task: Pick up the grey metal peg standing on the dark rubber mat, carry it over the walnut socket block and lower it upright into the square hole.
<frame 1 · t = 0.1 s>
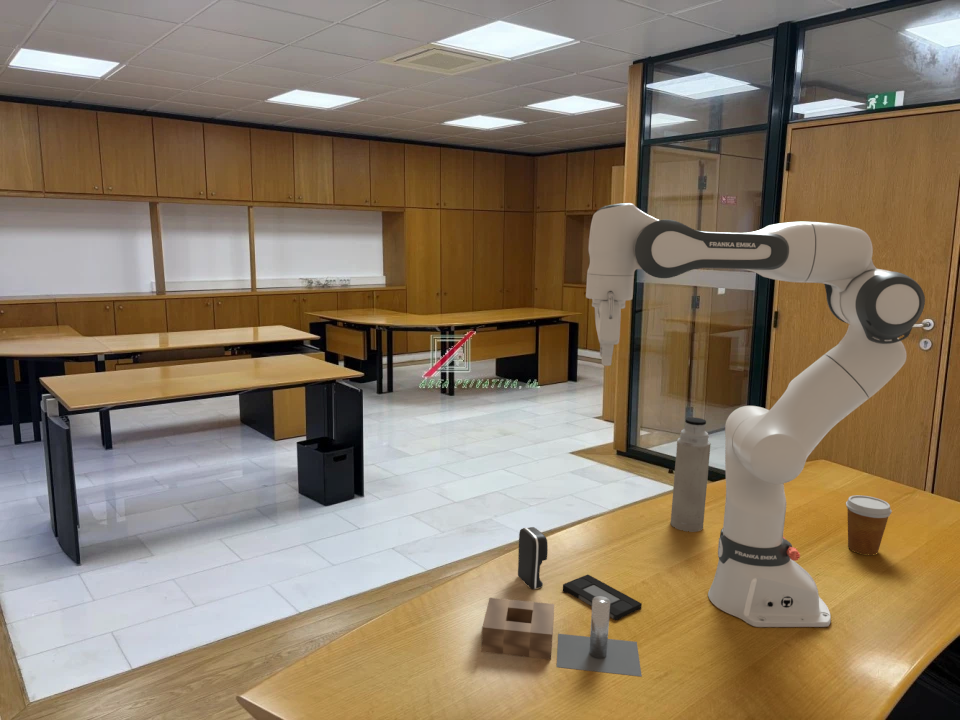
hand: (605, 360, 135), 48 cm above the table, tool pointing down, fingers open, 8 cm apart
peg: (597, 653, 120), resting on mat
vhs tape: (600, 603, 138), on the table
thermos bottle: (686, 526, 176), on the table
mat: (597, 656, 120), on the table
disposable coffee cup: (862, 550, 165), on the table
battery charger: (532, 582, 145), on the table
hole block: (518, 640, 123), on the table
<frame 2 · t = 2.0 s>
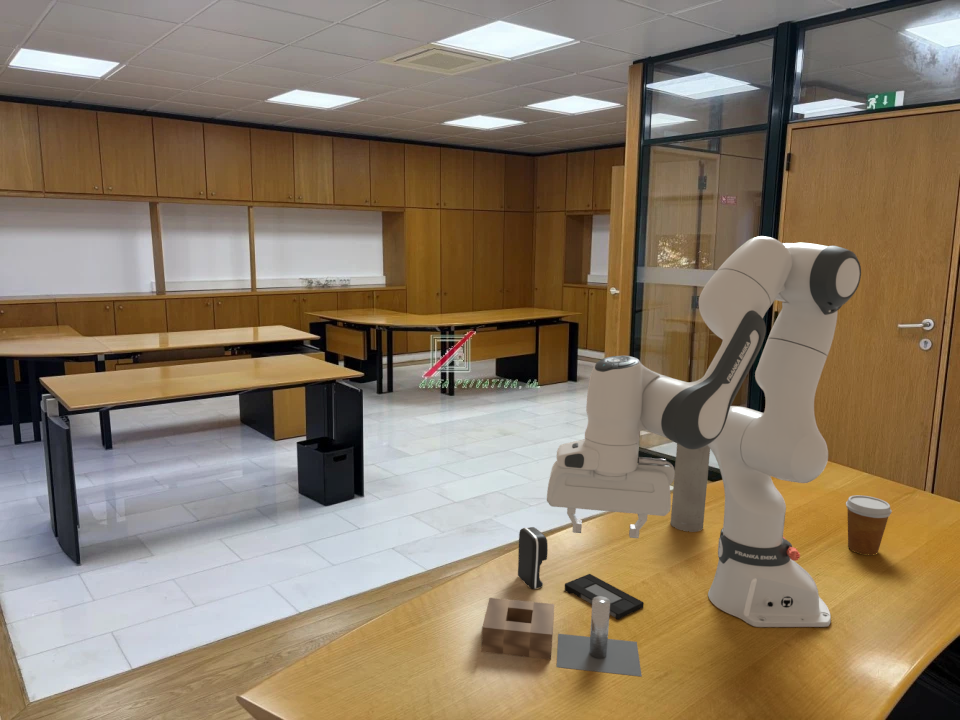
hand: (605, 534, 116), 23 cm above the table, tool pointing down, fingers open, 8 cm apart
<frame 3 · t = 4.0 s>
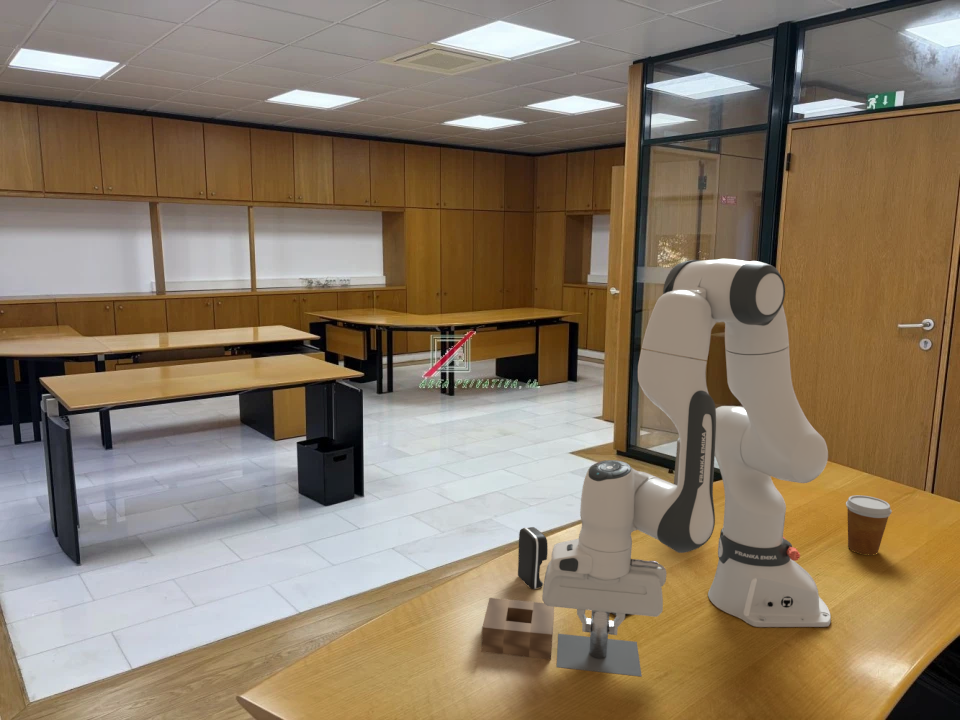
hand: (599, 631, 119), 5 cm above the table, tool pointing down, fingers closed on peg, 3 cm apart
peg: (597, 653, 120), resting on mat, touching gripper
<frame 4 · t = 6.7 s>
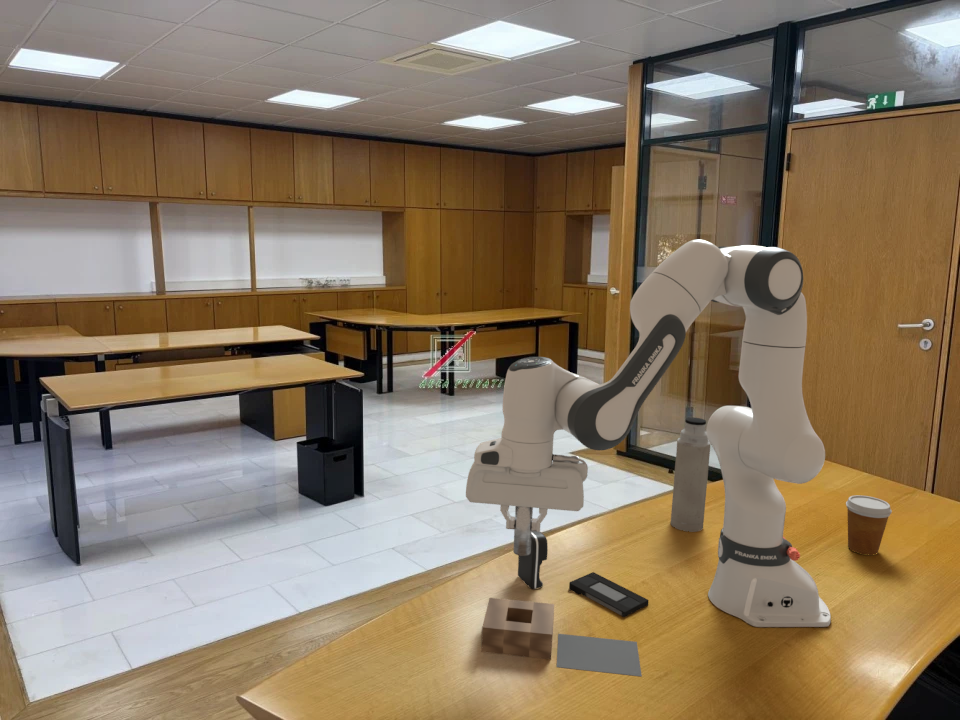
hand: (523, 529, 120), 21 cm above the table, tool pointing down, fingers closed on peg, 3 cm apart
peg: (522, 551, 120), point 17 cm above the table, touching gripper
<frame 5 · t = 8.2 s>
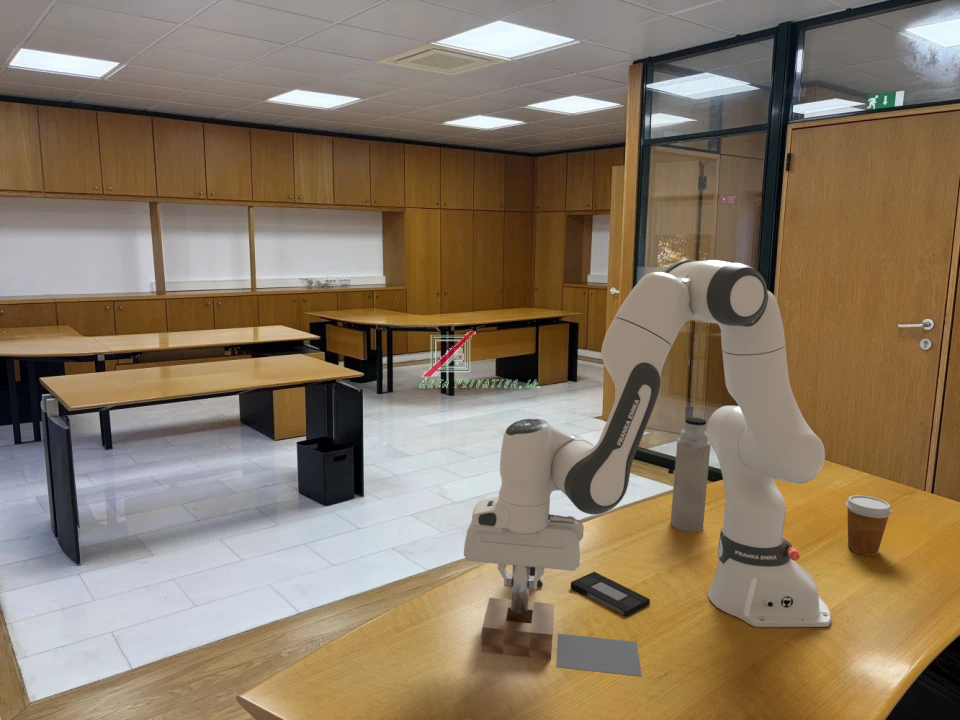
hand: (520, 586, 122), 10 cm above the table, tool pointing down, fingers closed on peg, 3 cm apart
peg: (519, 608, 122), point 6 cm above the table, touching gripper
when the fingers open (6 cm above the table, at t = 9.3 s): peg drops 2 cm, resting in hole block.
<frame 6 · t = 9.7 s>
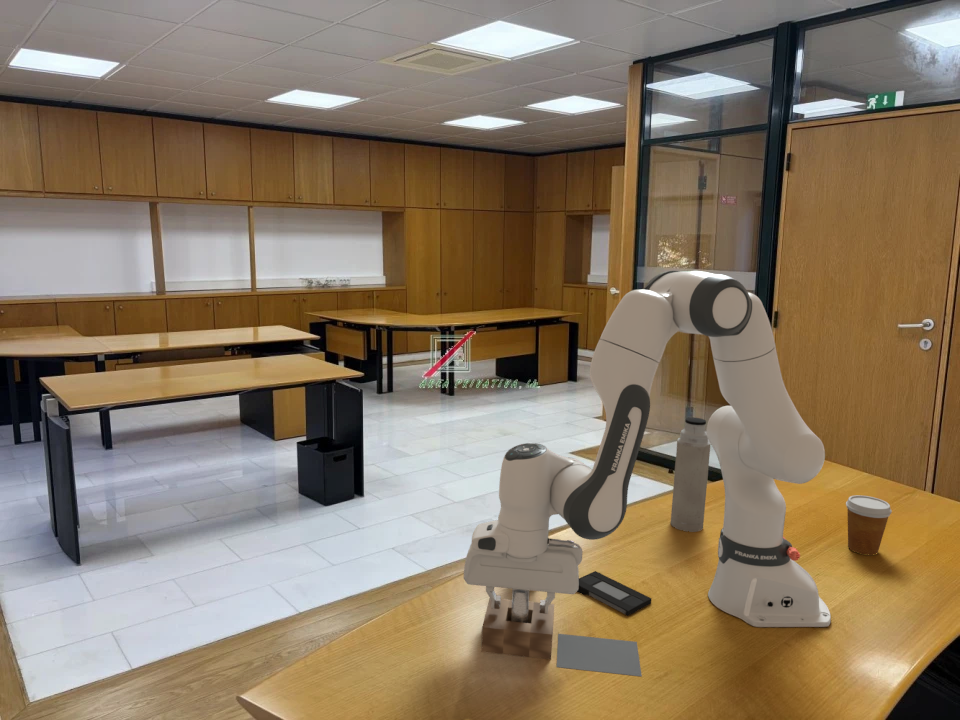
hand: (519, 609, 122), 6 cm above the table, tool pointing down, fingers open, 7 cm apart
peg: (518, 641, 123), resting in hole block
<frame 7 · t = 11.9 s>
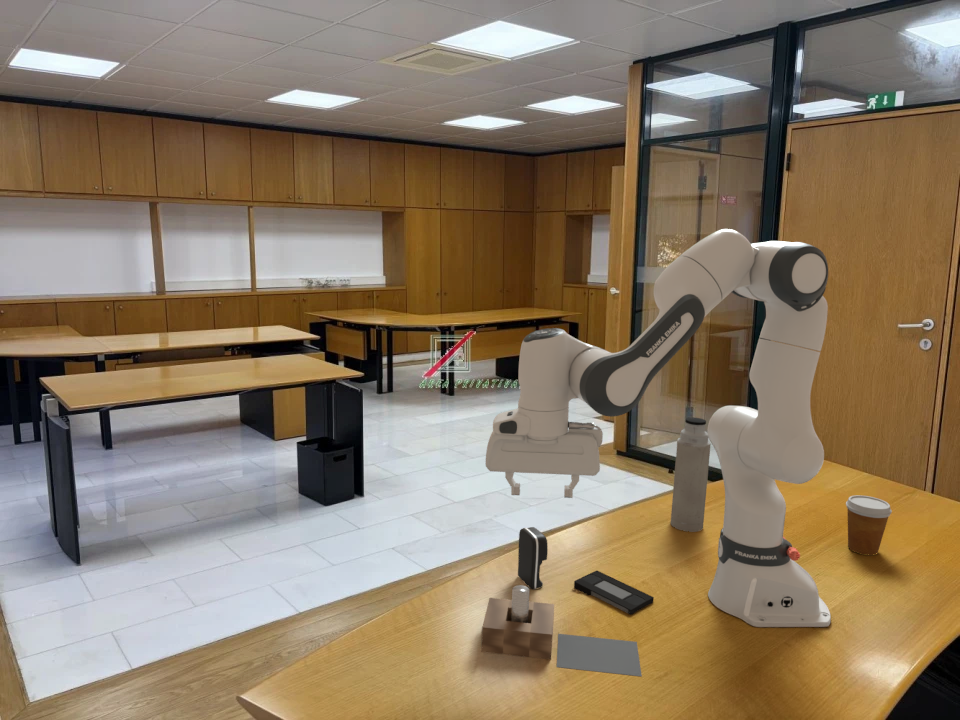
hand: (541, 495, 124), 26 cm above the table, tool pointing down, fingers open, 8 cm apart
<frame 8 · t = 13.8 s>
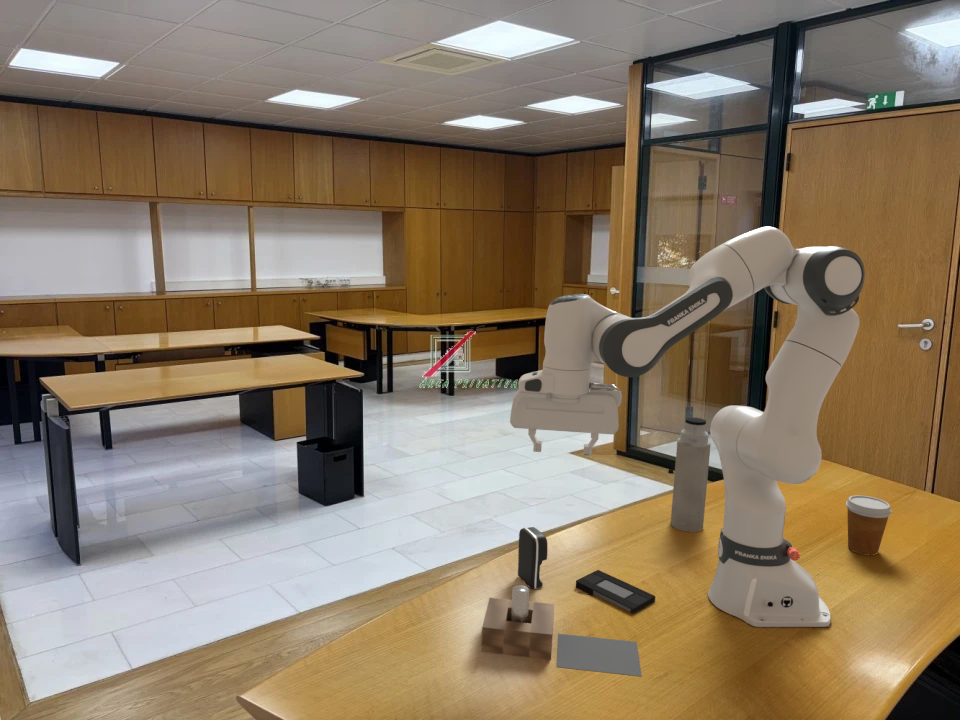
hand: (562, 452, 131), 31 cm above the table, tool pointing down, fingers open, 8 cm apart
at the end: peg 0.1 cm off-centre on the hole block, point 0.0 cm above the hole block's base; peg tilted 0°; the gripper is holding nothing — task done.
